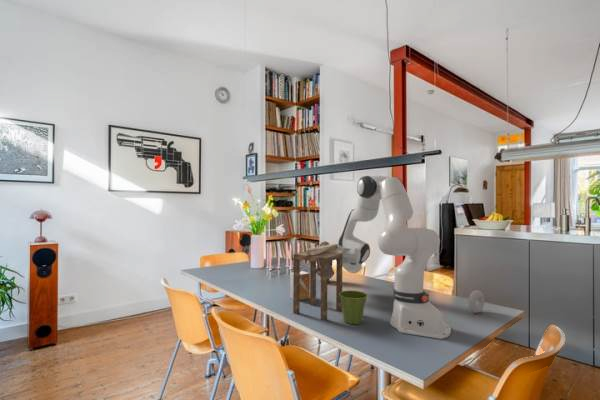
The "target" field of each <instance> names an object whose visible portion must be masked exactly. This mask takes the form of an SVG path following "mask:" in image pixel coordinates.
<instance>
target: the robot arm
mask: <svg viewBox="0 0 600 400" xmlns="http://www.w3.org/2000/svg"><path fill="white" fill-rule="evenodd" d="M356 191H357V194H358V199H357V201H356V202H357V203H356V207H354V208H353V209H351V211H350V212H349V214H348V215H347V216H348V217H347V219H346V222H345V225H344V227H343V231H342V233H341V235H340V236H339V238H338V243H337V244H339V245H336V249H337V250H333V251H329V252H337V253H343V256H342V269H344V270H345V271H347V272H348V273H350V274H357V273H359V272H360V271H361V270H362V268H363V267H362V266H363V263H365V262H366V261H367V259H368V258H369V257H370V254H371V248H370V245H369V244H368V243H367V242H365V241H363V240H361V239H359V238H357V237H355V235H354V231H355V228H356V225H357V223H358V222H362V223H366V222H369V221H373V220H374V219H375V218H377V216H378V213H379V209H380V204H381V203H382V205H383V209H384V214H385V218H386V224H385V227H384V228H383V230H382V231H381V232H380V234H379V235H378V238H377V245H378V248H379V250H380V251H381V252H382V253H383V254H384V255H386V256H387V255H388V256H393V257H398V256H399V257H402V256H405V258H404V260H403V261H402V262H401V263H400V264H398V265H397V266H396V268H395V269H394V282H393V283H394V288H393V290H392V300H393V301H392V302H393V306H392V307H393V309H392V315H391V318H390V320H389V321H390V322H389V324H390V325H391V327H393V328H395V329H397V331H398V332H399V333H401V334H407V335H408V334H409V335H412V336H413V335H415V336H420V337H426V338H433V339H439V340H440V339H441V340H442V339H446V338H448V337H449V336H450V335H451V333H452V329H451V327H450V325H449V324H446V323H445V318H444V314H443V313H442V311H440V310H439V308H437V307H436V306H435V305H433V304H432V303H431V302H430V301H429V299H430V297H429V296H430V293H429V292H426V291H424V282H425V281H424V280H425V278H424V277H425V271H426V266H427V264H428V262H429V260H430V258H432V256H433V255H434V254H435V253H436V252H437V251H438V250H439V248H440V243H441V239H440V237H439V235H438V233H437V231H435V230H434V229H431V228H430V229H429V228H426V227H408V226H407V225H408V224H407V223H408V222H409V221H410V220H411V218H413V215H414V209H413V206H412V204H411V201H410V198H409V195H408V193H407V191H406V188H405V187H404V183H403V180H402V179H400V178H398V177H396V176H395V177H394V176H387V175H386V176H384V175H370V176H369V175H365V176H361V177H360V178H359V180H358V181H357V185H356ZM381 201H382V202H381ZM329 244H330V243H329ZM329 244H328V245H329ZM322 246H324V245H322ZM335 261H336V262H337V259H336V260H335Z"/></svg>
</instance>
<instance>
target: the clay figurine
mask: <svg viewBox="0 0 600 400" xmlns="http://www.w3.org/2000/svg"><path fill="white" fill-rule="evenodd" d="M328 244H330V242H328V241H322V242H320V243H319V247H320V246H322V245H324V246H325V245H328ZM333 261H334V260H333ZM333 261H329V262H328V268H327V283H328V282H329V283H330V282H331V280H330V279H332V277H333V276H334V275H335V270H334V268H333ZM316 275H317V276H319V277H320V278H321V262H316ZM320 283H321V280H320Z"/></svg>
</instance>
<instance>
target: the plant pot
mask: <svg viewBox="0 0 600 400" xmlns="http://www.w3.org/2000/svg"><path fill="white" fill-rule="evenodd" d="M339 295H340V298H341V302H342V315H343V316H342V317H343V322H344V323H346V324H349V325H352V324H354V325H360V324H361V323H362V321H363V317H364V316H363V315H364V311H365V306H366V305H365V304H366V302H367V298H368V297H369V295H368V294H367V293H365V292H363V291H359V290H342V292H340V293H339Z"/></svg>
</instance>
